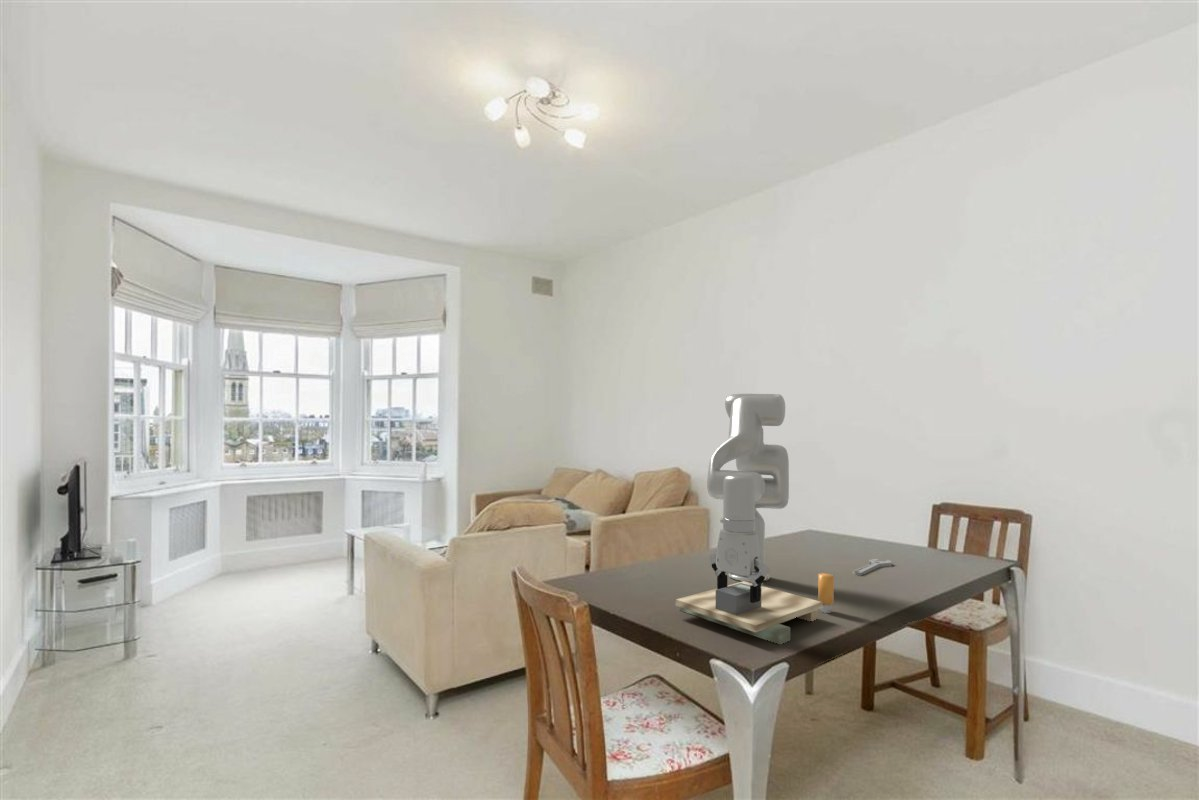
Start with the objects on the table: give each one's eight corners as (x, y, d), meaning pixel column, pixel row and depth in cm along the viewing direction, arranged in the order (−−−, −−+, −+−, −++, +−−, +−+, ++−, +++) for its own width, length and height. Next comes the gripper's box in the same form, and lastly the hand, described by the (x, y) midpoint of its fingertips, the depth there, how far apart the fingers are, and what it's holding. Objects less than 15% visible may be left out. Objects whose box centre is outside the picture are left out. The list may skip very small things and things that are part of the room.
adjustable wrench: (859, 577, 195) (859, 572, 195) (840, 573, 200) (840, 568, 200) (894, 565, 212) (894, 560, 212) (875, 562, 216) (875, 557, 216)
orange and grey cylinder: (815, 611, 159) (815, 574, 159) (822, 608, 161) (823, 572, 162) (828, 614, 156) (829, 577, 156) (836, 612, 159) (836, 575, 159)
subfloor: (666, 614, 155) (666, 596, 155) (734, 594, 173) (734, 578, 173) (767, 650, 132) (767, 629, 132) (833, 623, 150) (833, 604, 150)
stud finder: (715, 608, 145) (715, 589, 146) (741, 601, 152) (741, 582, 152) (735, 615, 141) (736, 595, 141) (761, 607, 147) (761, 587, 147)
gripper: (701, 522, 151) (700, 591, 151) (759, 533, 138) (759, 609, 138) (720, 518, 156) (719, 585, 156) (778, 529, 143) (778, 602, 142)
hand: (738, 596), depth 147 cm, fingers open, 9 cm apart
